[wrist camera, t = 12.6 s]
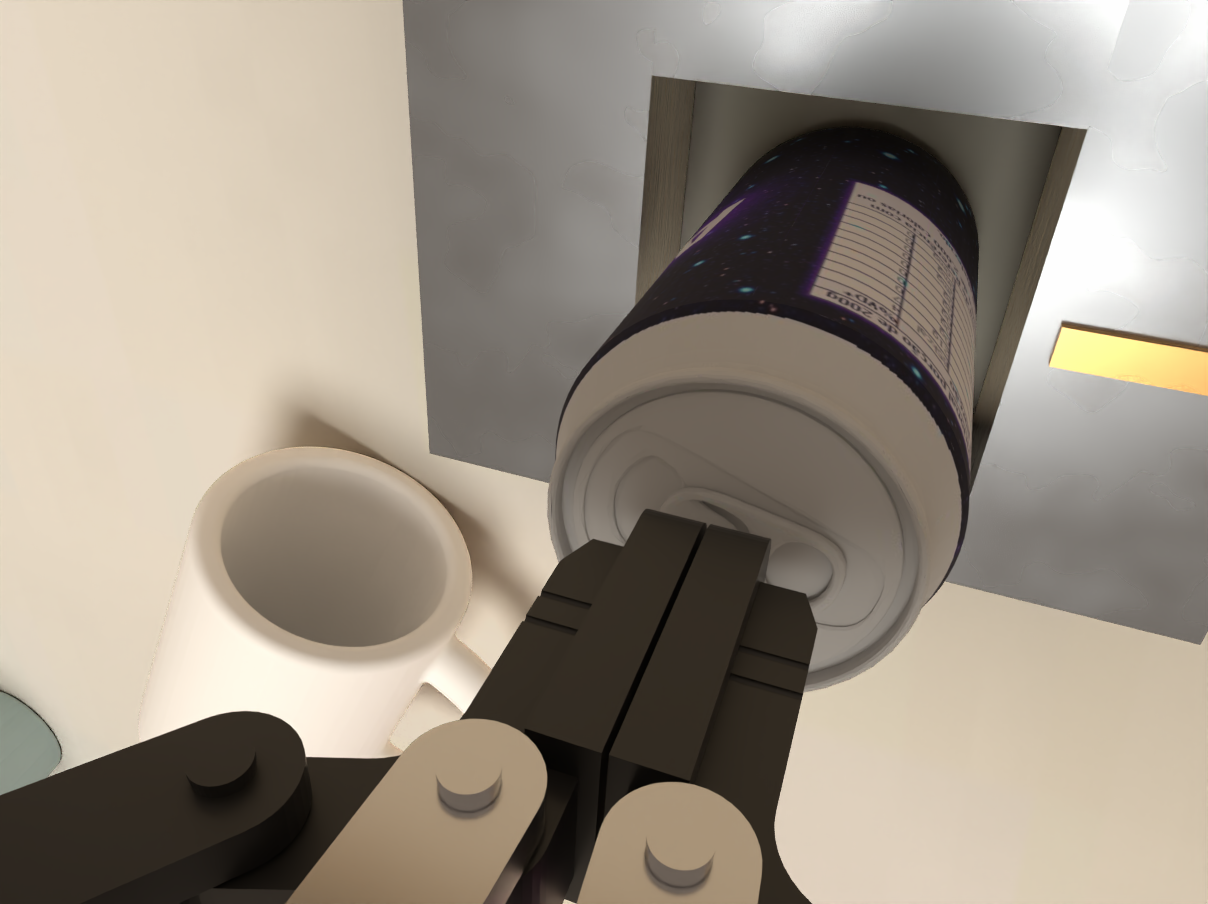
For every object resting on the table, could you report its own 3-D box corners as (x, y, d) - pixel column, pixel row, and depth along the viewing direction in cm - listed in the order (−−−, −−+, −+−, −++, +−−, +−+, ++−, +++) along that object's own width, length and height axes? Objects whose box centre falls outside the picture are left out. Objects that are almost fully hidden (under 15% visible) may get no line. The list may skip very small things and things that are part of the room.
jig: (1444, -9, 16) (1547, 19, 13) (1174, 547, 22) (1201, 651, 19) (480, -88, 20) (392, -81, 17) (488, 392, 27) (425, 457, 24)
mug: (243, 587, 36) (78, 743, 29) (308, 404, 30) (119, 549, 23) (504, 761, 36) (397, 956, 29) (622, 612, 30) (520, 816, 23)
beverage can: (770, 82, 20) (566, 271, 11) (1028, 169, 19) (1063, 460, 10) (695, 310, 23) (487, 613, 14) (913, 393, 23) (854, 778, 13)
